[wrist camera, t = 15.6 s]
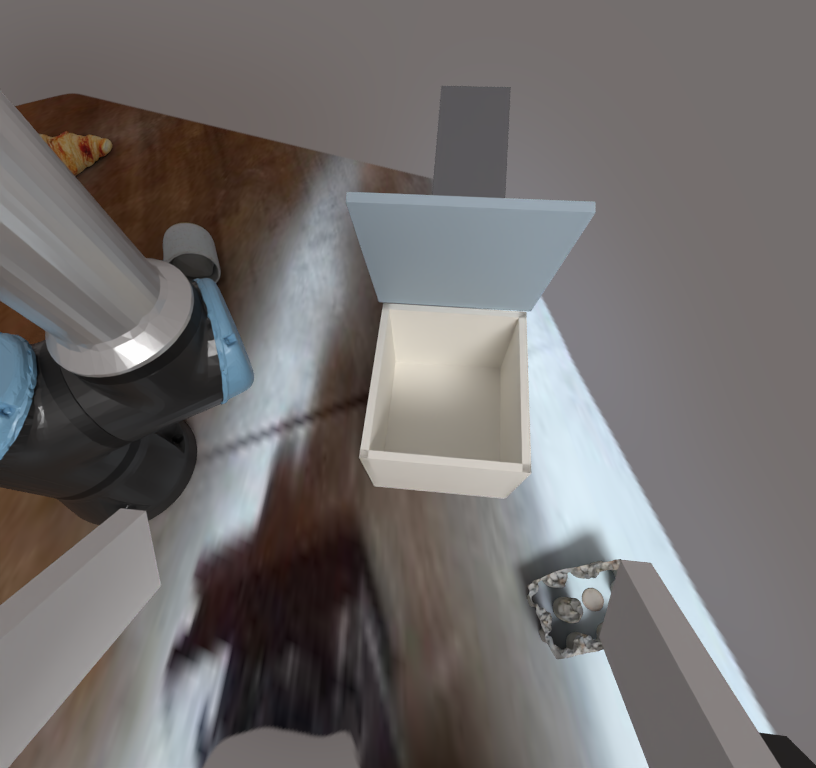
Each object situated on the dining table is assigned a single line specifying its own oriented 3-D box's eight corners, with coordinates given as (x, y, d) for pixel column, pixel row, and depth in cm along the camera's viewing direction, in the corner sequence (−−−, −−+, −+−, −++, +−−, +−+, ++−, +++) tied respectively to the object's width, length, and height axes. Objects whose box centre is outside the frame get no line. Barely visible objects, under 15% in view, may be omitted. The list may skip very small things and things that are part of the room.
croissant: (124, 159, 85) (95, 115, 80) (121, 160, 77) (89, 112, 72) (17, 198, 80) (-20, 154, 75) (2, 203, 72) (-40, 155, 67)
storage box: (505, 498, 49) (531, 473, 37) (374, 486, 50) (359, 457, 38) (504, 367, 56) (526, 311, 45) (391, 359, 57) (383, 303, 46)
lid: (595, 212, 27) (595, 89, 29) (345, 202, 28) (361, 84, 30) (530, 311, 45) (533, 230, 46) (379, 302, 46) (387, 224, 48)
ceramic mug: (220, 247, 68) (197, 210, 61) (229, 282, 65) (205, 247, 58) (158, 267, 67) (126, 231, 60) (163, 304, 63) (131, 270, 57)
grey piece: (609, 557, 46) (626, 555, 42) (639, 633, 42) (660, 638, 39) (519, 578, 45) (527, 577, 41) (542, 657, 42) (554, 664, 38)
